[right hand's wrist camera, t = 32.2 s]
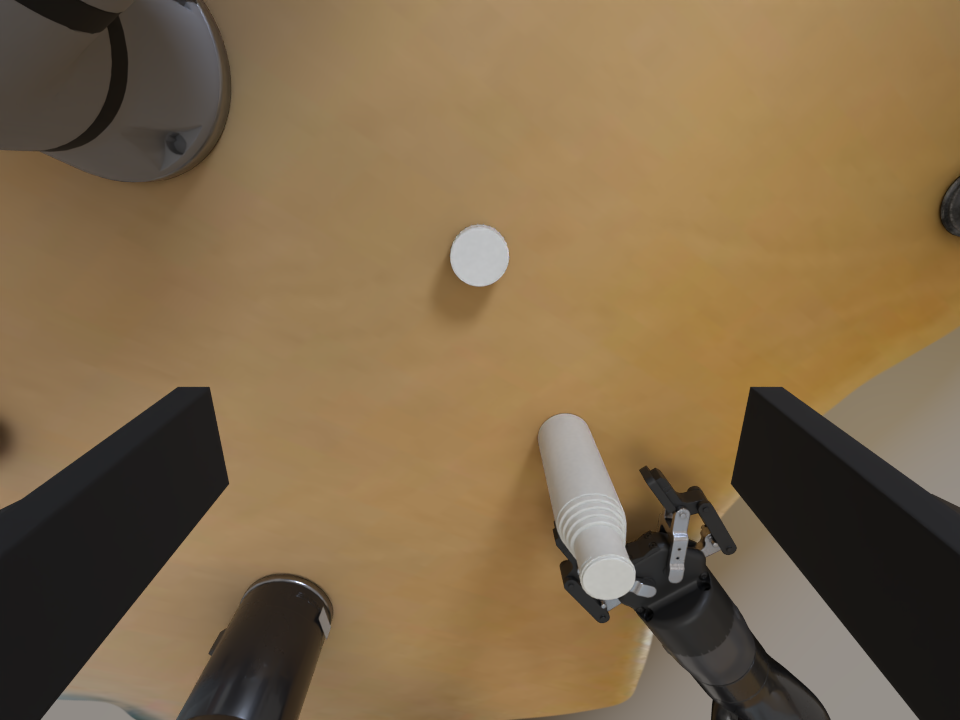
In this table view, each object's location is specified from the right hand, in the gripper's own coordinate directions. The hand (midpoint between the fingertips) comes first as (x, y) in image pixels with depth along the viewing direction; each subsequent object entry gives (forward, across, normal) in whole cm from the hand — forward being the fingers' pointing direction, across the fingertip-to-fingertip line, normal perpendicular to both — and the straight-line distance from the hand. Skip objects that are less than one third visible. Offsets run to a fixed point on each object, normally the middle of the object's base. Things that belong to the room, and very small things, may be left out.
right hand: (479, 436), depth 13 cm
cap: (+28, 0, 0) cm, 28 cm away
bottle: (+30, +8, -17) cm, 35 cm away
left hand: (+24, +10, -19) cm, 33 cm away
